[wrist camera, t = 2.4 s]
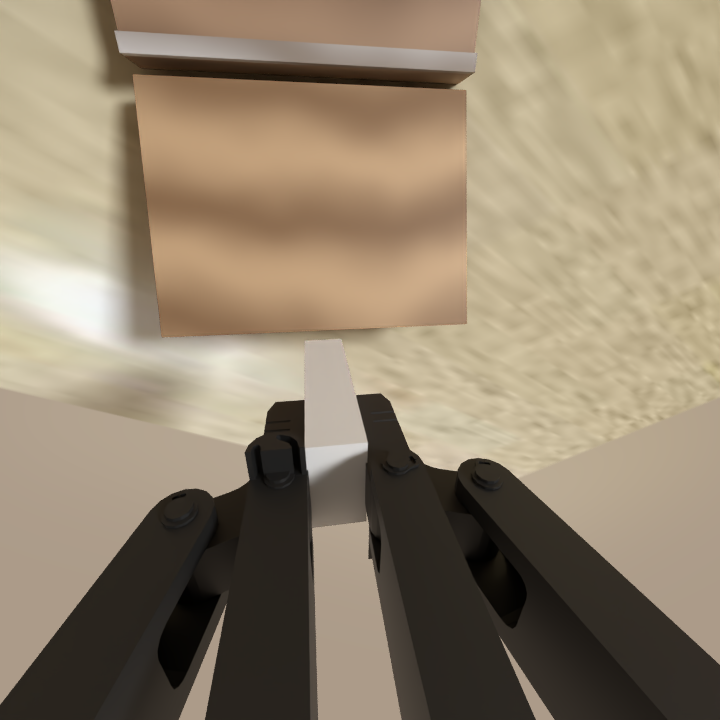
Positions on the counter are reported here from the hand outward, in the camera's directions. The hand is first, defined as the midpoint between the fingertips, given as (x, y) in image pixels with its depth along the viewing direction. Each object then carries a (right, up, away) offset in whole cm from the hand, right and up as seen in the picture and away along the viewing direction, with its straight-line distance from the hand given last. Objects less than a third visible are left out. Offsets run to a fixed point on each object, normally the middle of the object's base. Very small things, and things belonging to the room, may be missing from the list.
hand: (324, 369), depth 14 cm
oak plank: (-1, +9, +7) cm, 11 cm away
